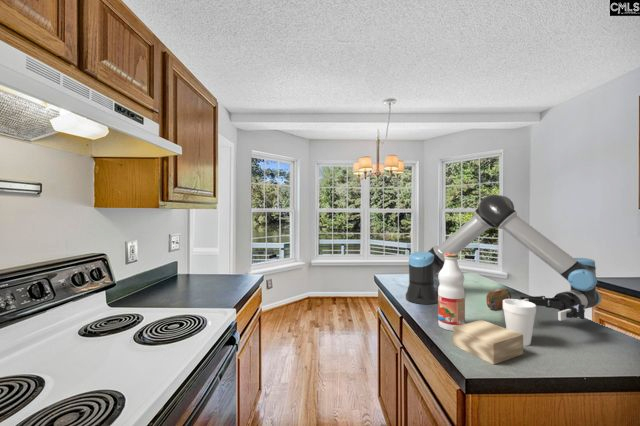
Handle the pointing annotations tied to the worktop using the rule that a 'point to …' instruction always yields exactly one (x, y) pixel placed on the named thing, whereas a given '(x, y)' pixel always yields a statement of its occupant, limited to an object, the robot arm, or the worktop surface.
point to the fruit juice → (451, 294)
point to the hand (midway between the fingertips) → (536, 310)
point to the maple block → (488, 341)
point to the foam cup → (520, 317)
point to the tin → (497, 298)
